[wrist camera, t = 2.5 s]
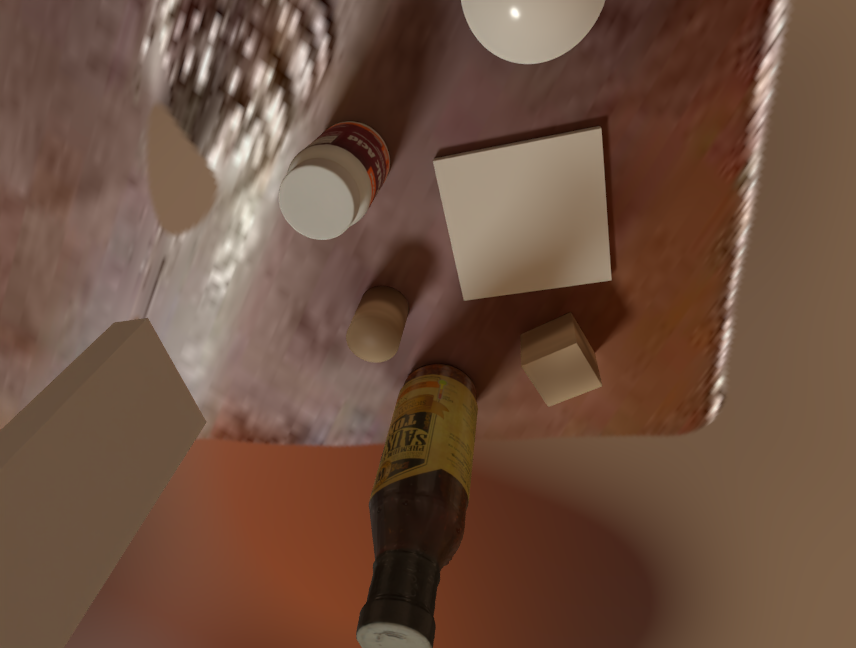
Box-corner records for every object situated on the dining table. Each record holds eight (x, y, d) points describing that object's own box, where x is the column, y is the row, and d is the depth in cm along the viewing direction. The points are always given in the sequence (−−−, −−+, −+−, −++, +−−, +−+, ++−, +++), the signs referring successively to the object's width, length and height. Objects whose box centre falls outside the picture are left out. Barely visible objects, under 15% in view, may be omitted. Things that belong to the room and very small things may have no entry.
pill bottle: (404, 176, 36) (379, 226, 29) (342, 205, 37) (303, 260, 30) (367, 105, 34) (330, 141, 27) (303, 139, 35) (252, 181, 28)
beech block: (520, 334, 41) (521, 366, 38) (570, 311, 40) (576, 342, 36) (545, 372, 43) (548, 406, 39) (594, 352, 41) (602, 386, 38)
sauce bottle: (431, 345, 42) (382, 587, 26) (495, 388, 44) (487, 644, 27) (384, 395, 46) (313, 639, 29) (444, 433, 47) (410, 687, 31)
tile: (434, 158, 35) (433, 161, 34) (600, 125, 33) (601, 128, 32) (464, 296, 40) (463, 300, 39) (610, 276, 38) (611, 280, 37)
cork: (354, 289, 41) (339, 321, 37) (401, 282, 40) (391, 314, 36) (368, 330, 42) (355, 365, 39) (413, 324, 42) (404, 359, 38)
